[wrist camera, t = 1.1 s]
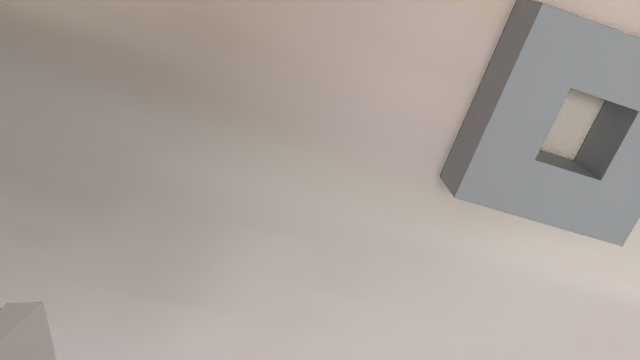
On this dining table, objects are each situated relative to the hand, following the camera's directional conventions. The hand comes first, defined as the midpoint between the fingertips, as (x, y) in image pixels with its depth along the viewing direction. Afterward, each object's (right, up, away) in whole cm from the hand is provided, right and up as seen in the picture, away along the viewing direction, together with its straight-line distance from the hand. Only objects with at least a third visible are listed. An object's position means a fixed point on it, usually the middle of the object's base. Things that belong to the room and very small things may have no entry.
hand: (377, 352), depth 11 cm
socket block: (+14, +7, +26) cm, 30 cm away
